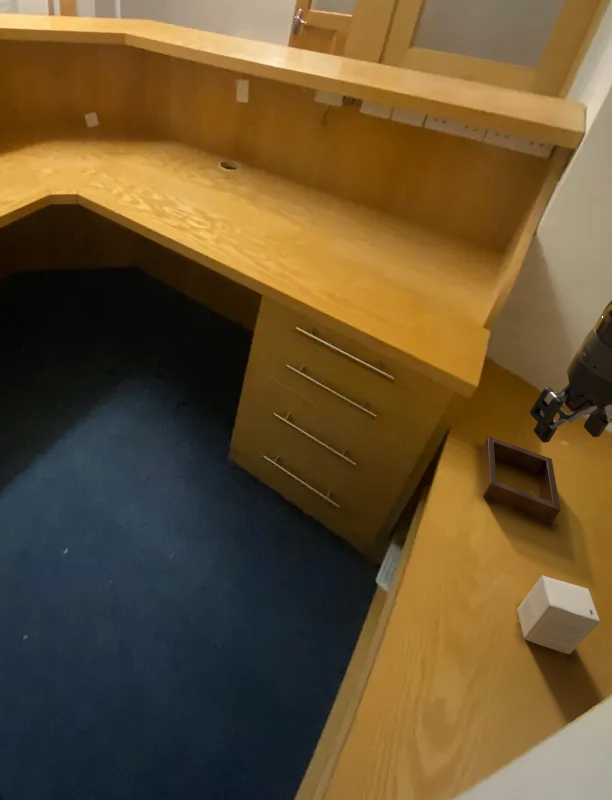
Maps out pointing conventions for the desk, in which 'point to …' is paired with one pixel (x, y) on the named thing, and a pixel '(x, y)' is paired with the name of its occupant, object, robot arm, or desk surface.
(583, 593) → the cosmetic box
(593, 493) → the desk surface
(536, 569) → the desk surface
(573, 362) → the robot arm
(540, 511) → the box
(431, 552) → the desk surface
